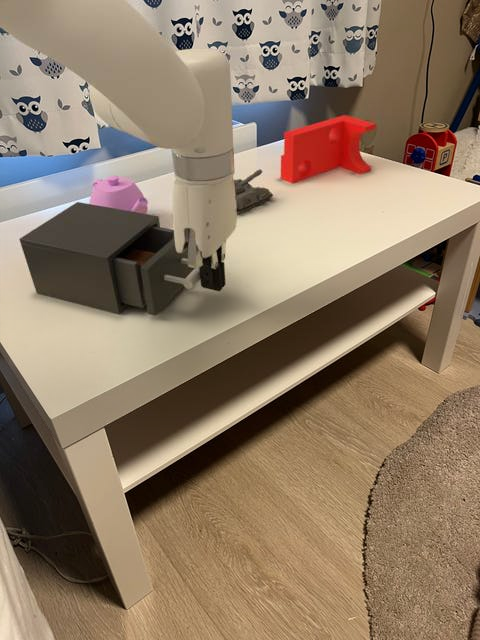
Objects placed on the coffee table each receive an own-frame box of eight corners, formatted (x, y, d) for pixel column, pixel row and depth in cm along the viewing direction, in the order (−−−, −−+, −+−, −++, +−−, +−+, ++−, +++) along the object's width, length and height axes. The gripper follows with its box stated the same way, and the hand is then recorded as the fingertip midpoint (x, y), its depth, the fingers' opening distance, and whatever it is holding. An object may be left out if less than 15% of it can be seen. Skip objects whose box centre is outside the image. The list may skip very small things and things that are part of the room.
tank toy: (245, 187, 113) (245, 163, 110) (278, 199, 107) (278, 174, 104) (203, 204, 107) (201, 180, 103) (235, 218, 101) (234, 193, 98)
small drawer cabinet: (166, 269, 87) (158, 216, 81) (119, 314, 77) (107, 257, 71) (89, 252, 92) (77, 201, 86) (36, 293, 82) (18, 238, 76)
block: (145, 288, 79) (141, 266, 76) (123, 283, 80) (118, 261, 78) (159, 275, 81) (156, 253, 79) (137, 270, 83) (133, 248, 80)
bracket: (341, 114, 118) (376, 123, 112) (337, 158, 125) (370, 170, 118) (281, 131, 110) (314, 143, 103) (280, 178, 116) (312, 192, 110)
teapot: (120, 205, 107) (112, 161, 102) (170, 225, 99) (165, 178, 94) (78, 224, 101) (67, 177, 96) (128, 247, 93) (119, 198, 88)
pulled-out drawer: (222, 278, 82) (219, 234, 77) (184, 323, 73) (178, 276, 69) (119, 256, 89) (111, 214, 84) (73, 295, 80) (61, 250, 75)
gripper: (204, 140, 71) (213, 257, 82) (145, 180, 60) (164, 309, 71) (255, 146, 69) (257, 266, 80) (202, 189, 58) (213, 321, 69)
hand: (213, 286), depth 76 cm, fingers closed
